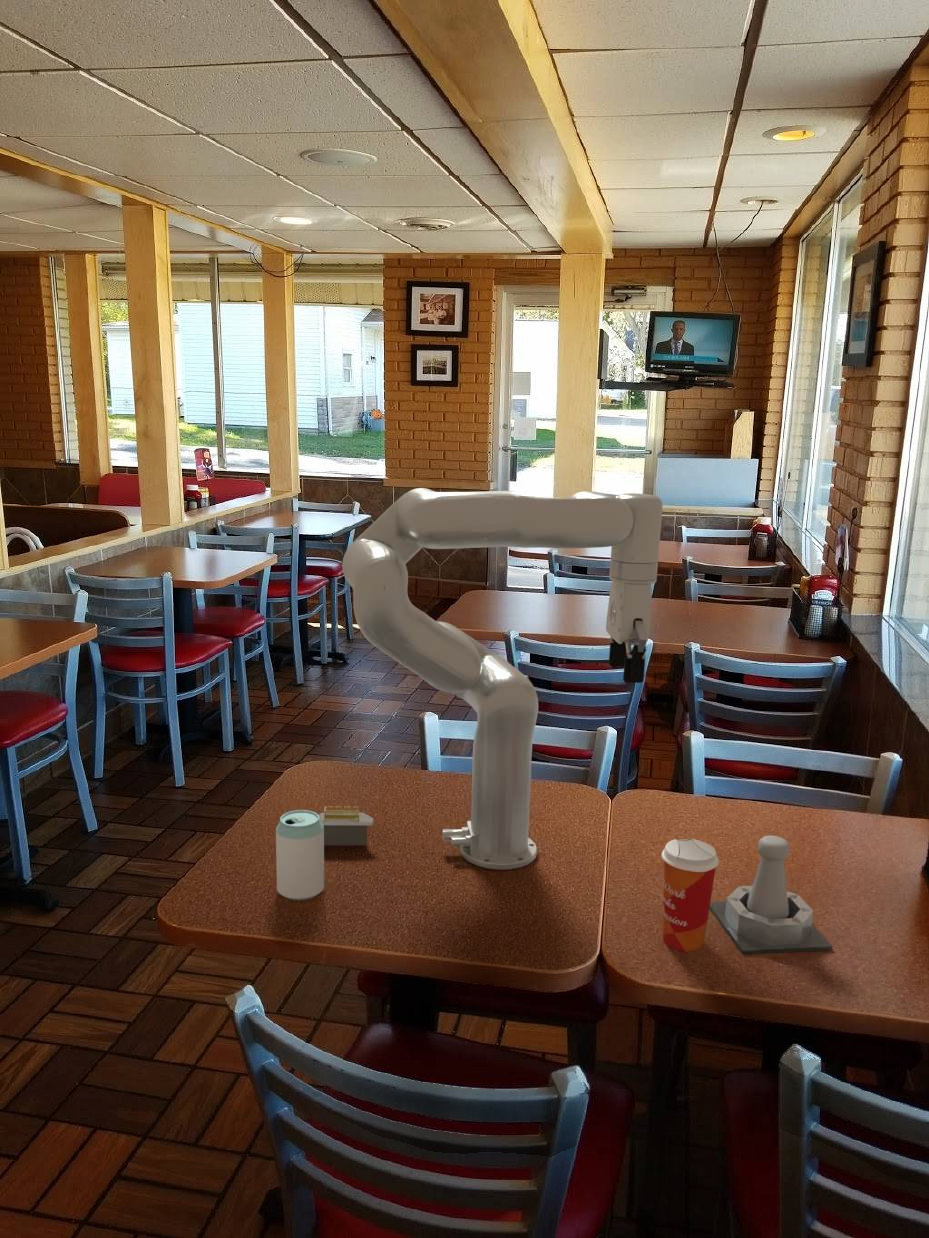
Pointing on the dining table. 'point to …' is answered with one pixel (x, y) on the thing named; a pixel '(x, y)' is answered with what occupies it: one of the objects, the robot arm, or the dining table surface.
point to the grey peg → (770, 880)
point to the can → (300, 855)
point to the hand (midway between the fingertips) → (625, 673)
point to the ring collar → (768, 926)
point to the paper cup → (687, 892)
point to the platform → (345, 827)
